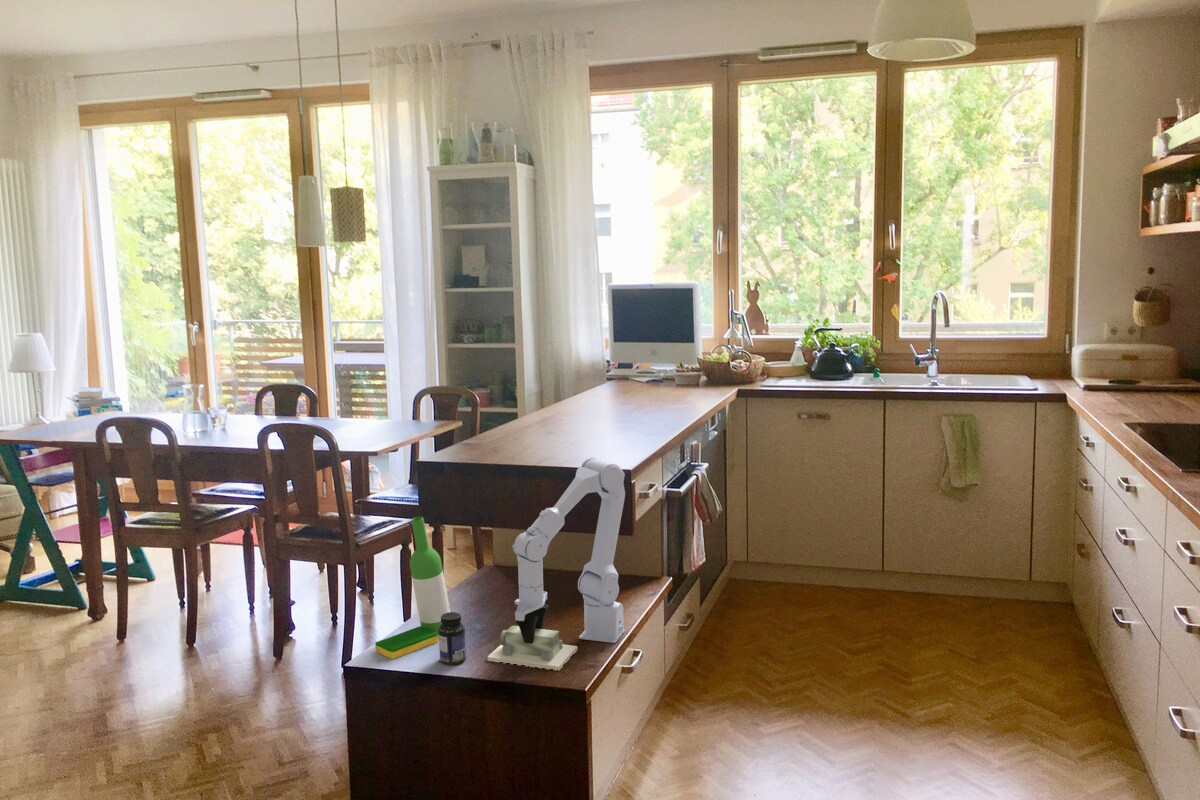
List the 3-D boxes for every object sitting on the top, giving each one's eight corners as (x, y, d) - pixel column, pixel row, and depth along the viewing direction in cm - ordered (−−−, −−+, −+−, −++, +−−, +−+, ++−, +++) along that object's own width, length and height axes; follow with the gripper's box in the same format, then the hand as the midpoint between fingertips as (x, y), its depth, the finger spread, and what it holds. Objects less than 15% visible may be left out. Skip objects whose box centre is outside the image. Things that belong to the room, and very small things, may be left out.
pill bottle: (467, 654, 233) (465, 610, 231) (464, 665, 227) (463, 620, 225) (441, 655, 232) (439, 611, 231) (438, 666, 226) (436, 620, 225)
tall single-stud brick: (559, 651, 231) (558, 631, 230) (553, 658, 227) (552, 637, 227) (507, 644, 236) (506, 624, 235) (499, 650, 232) (499, 630, 231)
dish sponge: (374, 651, 235) (374, 642, 235) (421, 634, 245) (421, 625, 245) (392, 659, 230) (391, 650, 230) (439, 641, 240) (438, 632, 240)
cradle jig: (577, 650, 234) (577, 638, 234) (559, 670, 223) (558, 658, 222) (508, 641, 240) (508, 629, 239) (487, 660, 229) (487, 648, 228)
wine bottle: (415, 634, 245) (395, 523, 237) (433, 619, 252) (413, 511, 244) (441, 637, 242) (421, 525, 234) (458, 622, 248) (439, 513, 241)
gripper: (527, 572, 237) (529, 625, 239) (502, 592, 223) (504, 648, 225) (554, 575, 234) (555, 628, 236) (530, 595, 221) (532, 652, 223)
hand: (532, 638), depth 231 cm, fingers closed on tall single-stud brick, 4 cm apart
